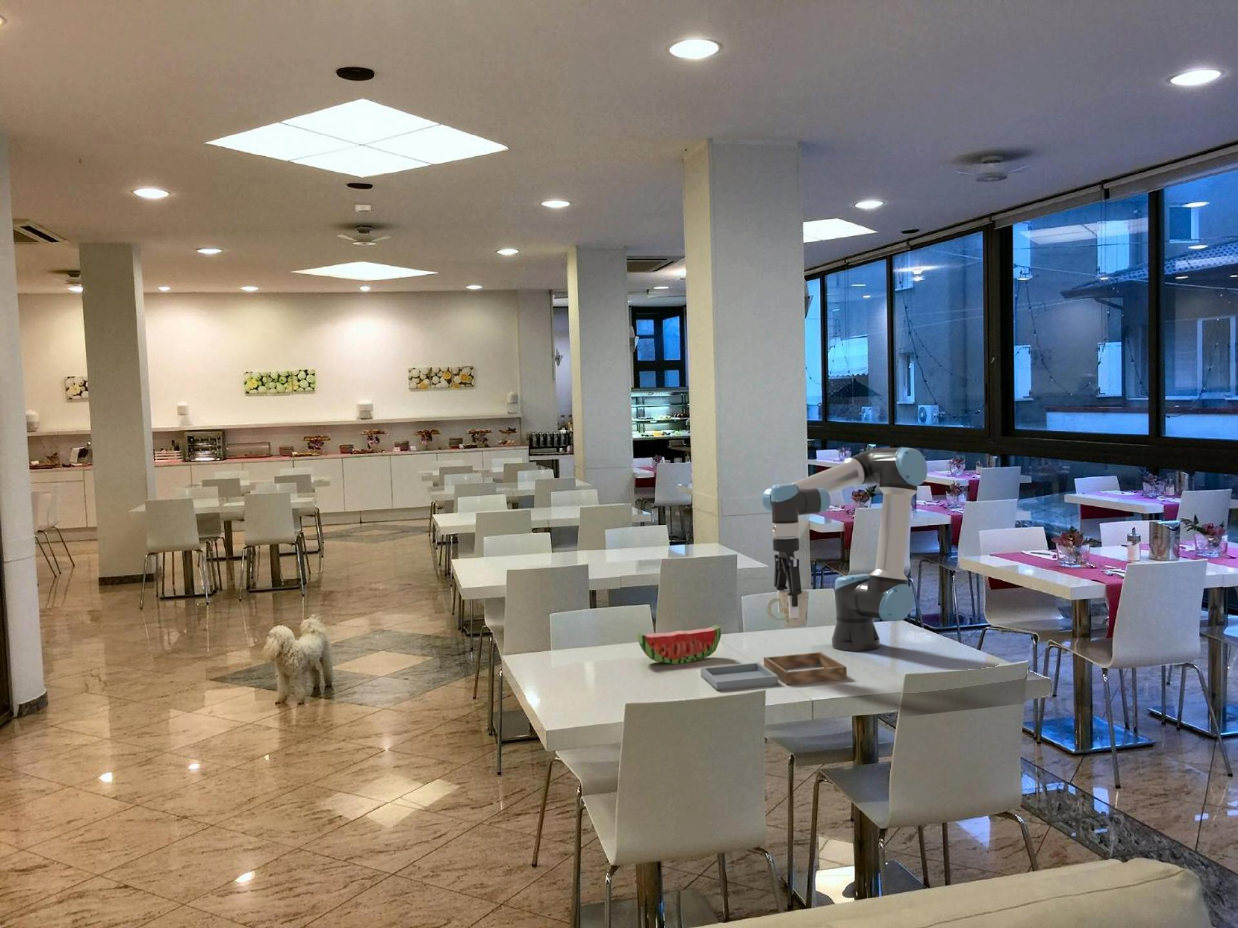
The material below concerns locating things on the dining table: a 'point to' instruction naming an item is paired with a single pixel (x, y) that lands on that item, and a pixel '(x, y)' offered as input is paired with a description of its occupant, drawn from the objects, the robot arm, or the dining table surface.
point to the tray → (739, 676)
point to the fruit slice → (680, 645)
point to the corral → (828, 673)
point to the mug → (785, 605)
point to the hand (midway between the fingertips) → (788, 614)
